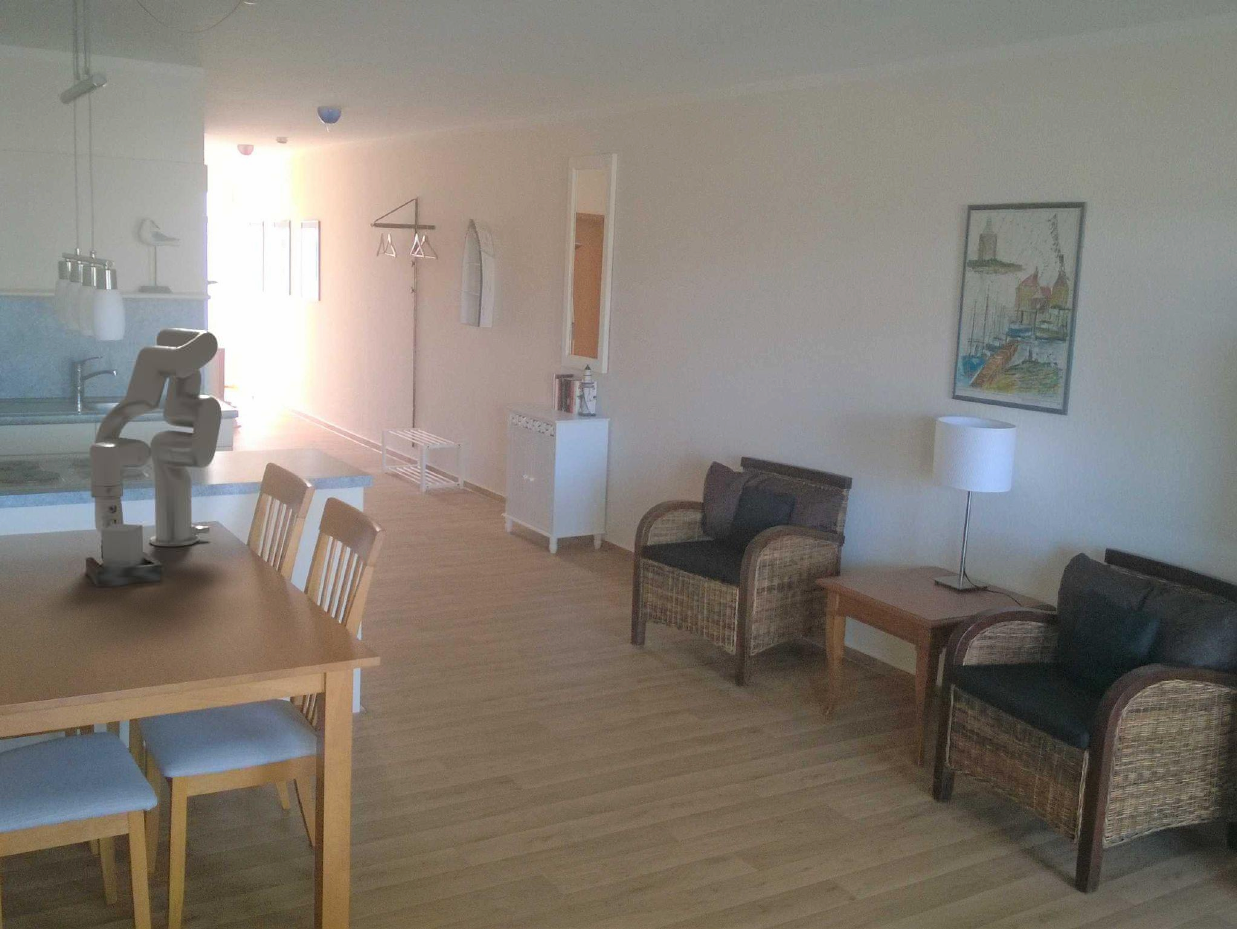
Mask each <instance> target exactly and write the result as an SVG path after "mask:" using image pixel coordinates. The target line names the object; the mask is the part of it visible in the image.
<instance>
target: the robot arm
mask: <svg viewBox="0 0 1237 929" xmlns="http://www.w3.org/2000/svg"><path fill="white" fill-rule="evenodd" d="M218 347H219V345H218V340H217V337H216V336H215V335H214V334H213V333H212V332H210V331H208V330H203V329H190V328H189V329H188V328H180V327H168V328H164V329H161V330H160V331H159V332H158V333H157V337H156V345H148V346H144V347H143V348H142V349H140V350H139V353H138V354H137V357H136V360H135V363H134V367H133V371H132V372H131V377H130V380H129V384H128V387H127V389H126V390H127V391H126V394H125V396H124V398H122V400H121V401H120V402H118V403H117V404H116V405H115V406H114V407H112V409H111V410H110V411H109V412H108V413H107V414H106V415H105V416H104V418H103V419H102V421H101V423H100V425H99V428H98V431H97V434H96V436H95V437H96V438H95V442H94V443H93V444H92V445H90V448H89V466H90V467H89V469H90V472H89V473H90V474H89V475H90V497H91V498H93V499H94V524H95V529H96V531H98V532H99V534H100V543H101V544H100V545H101V546H100V548H101V552H100V553H101V560H103V554H102V531H101V530H103V529H105V528H107V527H109V526H111V525H113V524H124V513H123V505H122V500H121V499H122V497H123V496H124V484H123V483H124V480H123V478H124V477H123V476H124V475H123V470H124V469H139V468H142V467H143V466H145V465H147V464H148V463H149V461H150V460H152V466H153V470H154V471H153V473H154V508H155V509H154V510H155V512H154V515H155V517H154V518H155V535H153V536H150V538H149V544H151V545H153V546H156V547H165V548H166V547H168V548H169V547H172V548H173V547H174V548H175V547H176V548H177V547H183V546H190V545H194V544H196V543H197V542H198V540H199V539H198V538H199V537H198V535H199V534H200V535H201V534H209V533H210V526H202V525H198V526H196V525H193V519H192V518H193V517H192V477H191V474H190V472H189V470H188V468H194V469H201V468H203V469H204V468H206V467H208V466H209V465H211V463H212V461H213V460H214V457H215V454H216V450H217V444H218V439H219V433H220V428H221V423H222V415H223V414H222V407H221V405H220V403H219V401H218V400H217V398H216V397H213V396H211V395H205V394H201V386H202V374H201V370H200V369H201V368H203V367H204V366H205V365H206V364H208V363H209V362H211V360H212V359H213V358H214V357H215V356H216V354H217V352H218ZM167 379H168V384H167V388H166V392H165V393H166V394H165V398H164V404H163V411H162V413H163V414H162V416H163V420H164V422H166V423H167V424H168V425H171V426H174V427H178V428H179V427H180V428H187V429H188V428H189V429H192V430H193V431H192V432H190V431H189V432H188V431H182V430H181V431H180V430H170V429H169V430H162V431H160V432H157V433H156V434H155V435H154V436H153V437H152V438H151V441H150V444H148V443H146V441H144V440H141V439H136V438H134V439H133V438H127V437H120V434H121V432H122V431H123V429H125V427H126V425H127V424H128V423H130V422H131V421H132V420H134V419H135V418H138V417H139V416H142V415H145V414H147V413H150V412H152V411H154V410H156V409H157V408H159V406H160V402H161V398H162V395H163V393H164V388H165V384H166V382H167Z"/></svg>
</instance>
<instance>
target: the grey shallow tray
mask: <svg viewBox="0 0 1237 929" xmlns="http://www.w3.org/2000/svg"><path fill="white" fill-rule="evenodd" d="M85 574H86V575H87V576H88V577H89V578H90V579H91V580H92V583H93V584H94V585H95V586H96V587H97V588H107V587H115V586H116V587H117V586H122V585H133V584H141V583H143V584H144V583H149V582H157V581H158V582H159V581H163V580H164V578H163V564H162V563H161V562H160V561H159V560H157V559H154V558H152V557H151V556H150V555H149V554H148V553H146V552H145V551H143V565H142V566H133V567H124V568H115V569H106V570H103V567H102V565H101V564H100V563H99V562H98V561H97V560H96V559H95V558H93V557H92V556H91V557H86V558H85Z"/></svg>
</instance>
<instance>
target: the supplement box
mask: <svg viewBox="0 0 1237 929" xmlns="http://www.w3.org/2000/svg"><path fill="white" fill-rule="evenodd" d="M101 531H102V543H101V545H102V553H101V555H102V554H103V559H102V569H103V570H106V569H115V568H124V567H133V566H142V565H143V552H144V540H143V539H144V536H143V525H142V524H126V523H123V524H113V525H111V526H109V527H107V528H105V529H103V530H101Z"/></svg>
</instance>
